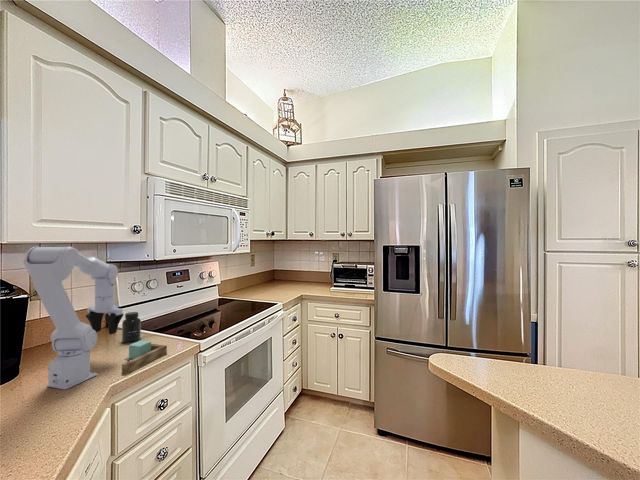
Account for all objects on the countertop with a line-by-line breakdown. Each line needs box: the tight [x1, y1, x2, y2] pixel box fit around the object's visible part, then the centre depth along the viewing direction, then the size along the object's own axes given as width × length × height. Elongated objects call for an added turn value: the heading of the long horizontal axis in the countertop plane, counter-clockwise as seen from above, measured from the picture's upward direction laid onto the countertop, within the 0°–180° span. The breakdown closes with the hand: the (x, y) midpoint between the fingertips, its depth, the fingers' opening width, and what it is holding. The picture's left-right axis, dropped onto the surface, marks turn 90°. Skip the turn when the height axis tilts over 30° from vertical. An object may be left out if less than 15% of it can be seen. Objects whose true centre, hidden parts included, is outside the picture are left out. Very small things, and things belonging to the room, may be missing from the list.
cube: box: [128, 339, 152, 359], centre depth 106 cm, size 5×5×5 cm
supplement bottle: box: [121, 311, 142, 344], centre depth 124 cm, size 7×7×12 cm
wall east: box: [151, 343, 168, 355], centre depth 111 cm, size 2×11×3 cm, turn 75°
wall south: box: [121, 347, 165, 375], centre depth 101 cm, size 16×2×3 cm, turn 165°
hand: (104, 332), depth 104 cm, fingers open, 7 cm apart
